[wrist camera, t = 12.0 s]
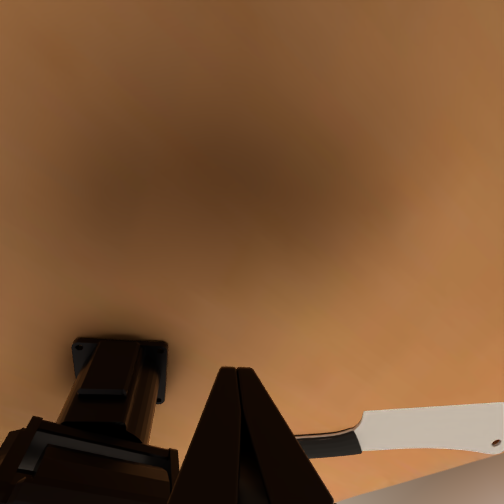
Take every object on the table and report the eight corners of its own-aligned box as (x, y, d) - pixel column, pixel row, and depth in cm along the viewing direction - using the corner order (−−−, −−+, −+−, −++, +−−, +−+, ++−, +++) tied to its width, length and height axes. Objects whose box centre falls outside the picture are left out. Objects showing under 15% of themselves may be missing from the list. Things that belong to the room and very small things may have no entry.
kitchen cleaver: (551, 391, 31) (513, 459, 34) (535, 377, 32) (500, 445, 36) (234, 402, 27) (229, 479, 31) (233, 387, 28) (229, 461, 32)
